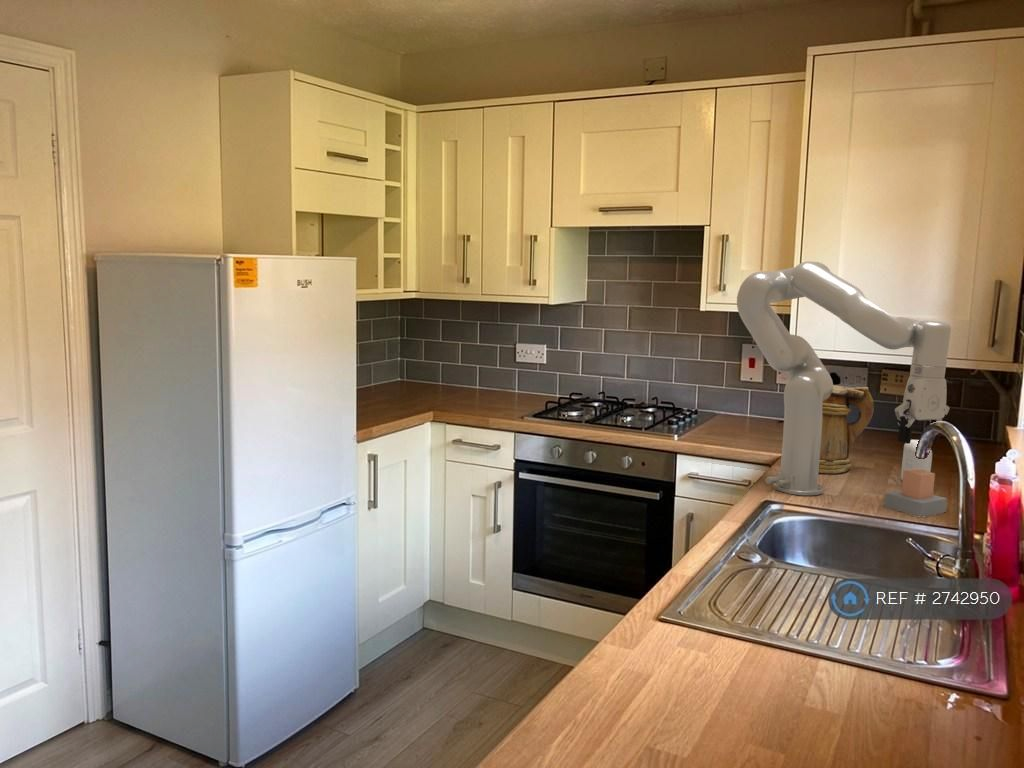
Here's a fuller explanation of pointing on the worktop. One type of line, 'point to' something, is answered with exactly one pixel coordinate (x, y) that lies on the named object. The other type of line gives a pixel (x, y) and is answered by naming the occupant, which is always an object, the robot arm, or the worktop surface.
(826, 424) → the tankard
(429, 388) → the worktop surface
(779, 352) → the robot arm
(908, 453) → the photo printer
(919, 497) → the terracotta block
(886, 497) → the slate block
